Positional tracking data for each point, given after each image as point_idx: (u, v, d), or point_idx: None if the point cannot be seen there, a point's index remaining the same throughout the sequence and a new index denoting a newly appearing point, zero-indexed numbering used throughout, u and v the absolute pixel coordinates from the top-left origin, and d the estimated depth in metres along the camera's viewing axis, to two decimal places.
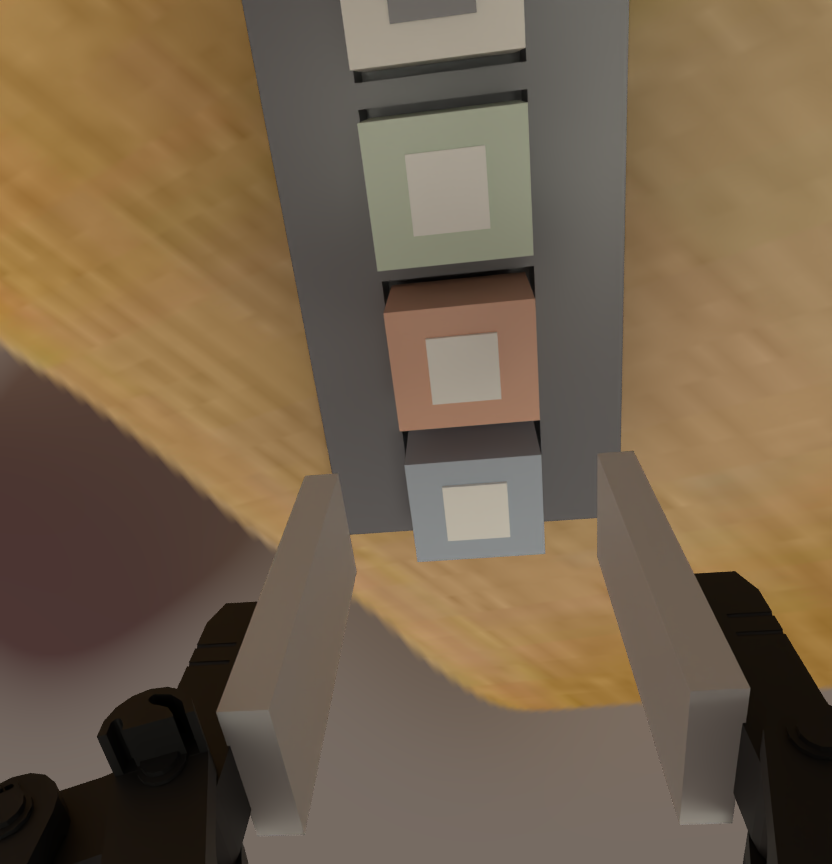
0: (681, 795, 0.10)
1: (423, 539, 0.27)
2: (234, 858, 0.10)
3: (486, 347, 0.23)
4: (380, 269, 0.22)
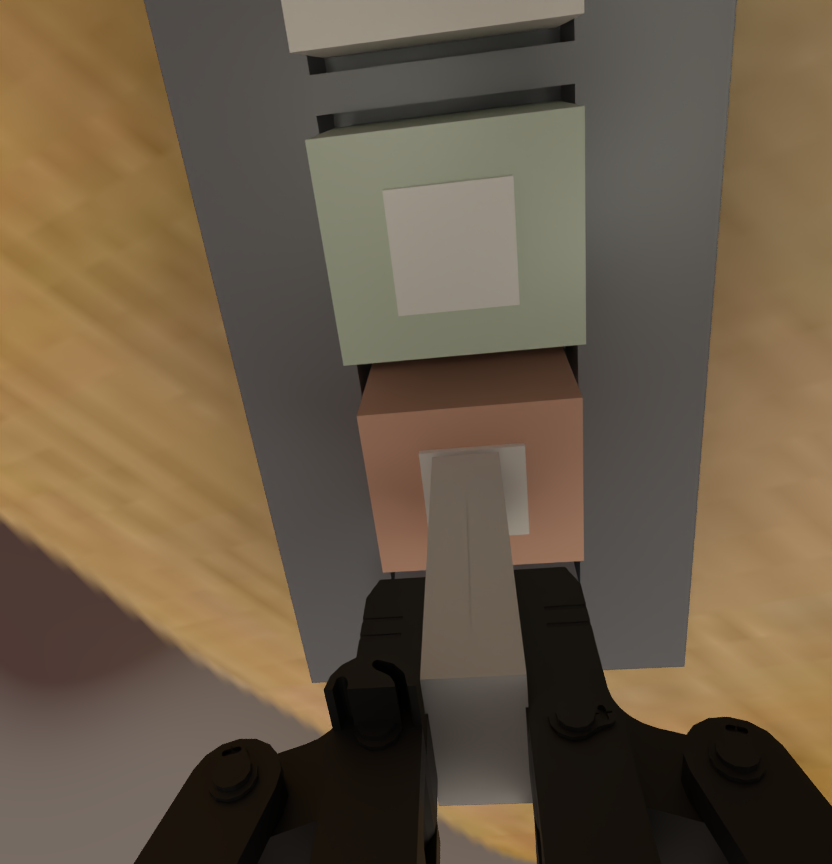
0: (482, 776, 0.11)
1: None
2: (434, 824, 0.10)
3: (509, 464, 0.16)
4: (347, 363, 0.15)
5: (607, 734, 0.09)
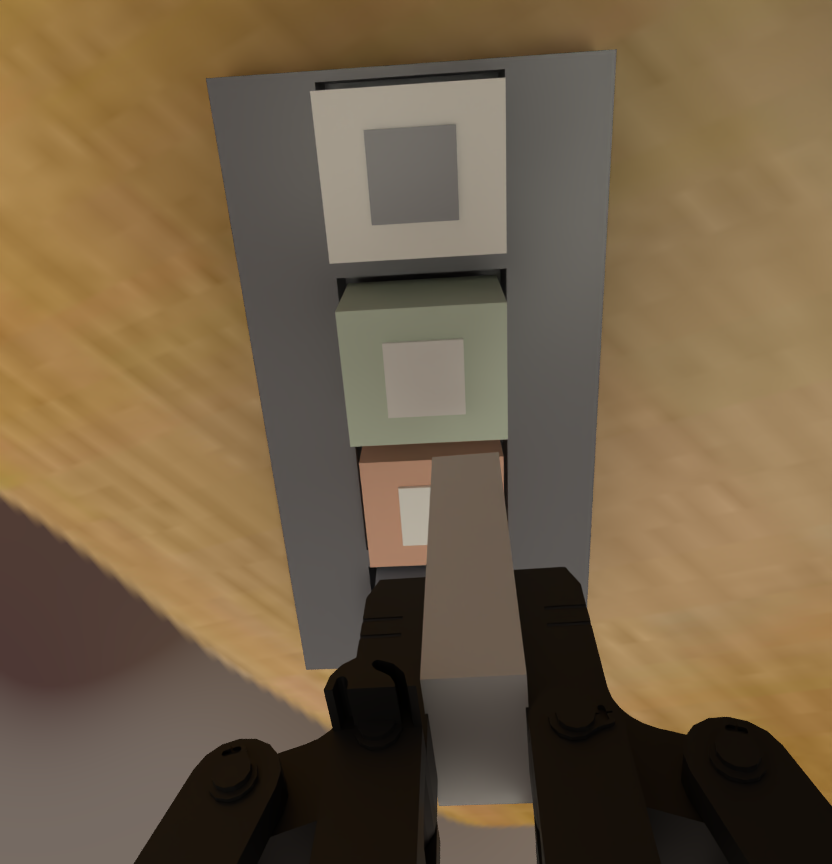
0: (482, 776, 0.11)
1: None
2: (434, 824, 0.10)
3: None
4: (353, 445, 0.22)
5: (607, 734, 0.09)
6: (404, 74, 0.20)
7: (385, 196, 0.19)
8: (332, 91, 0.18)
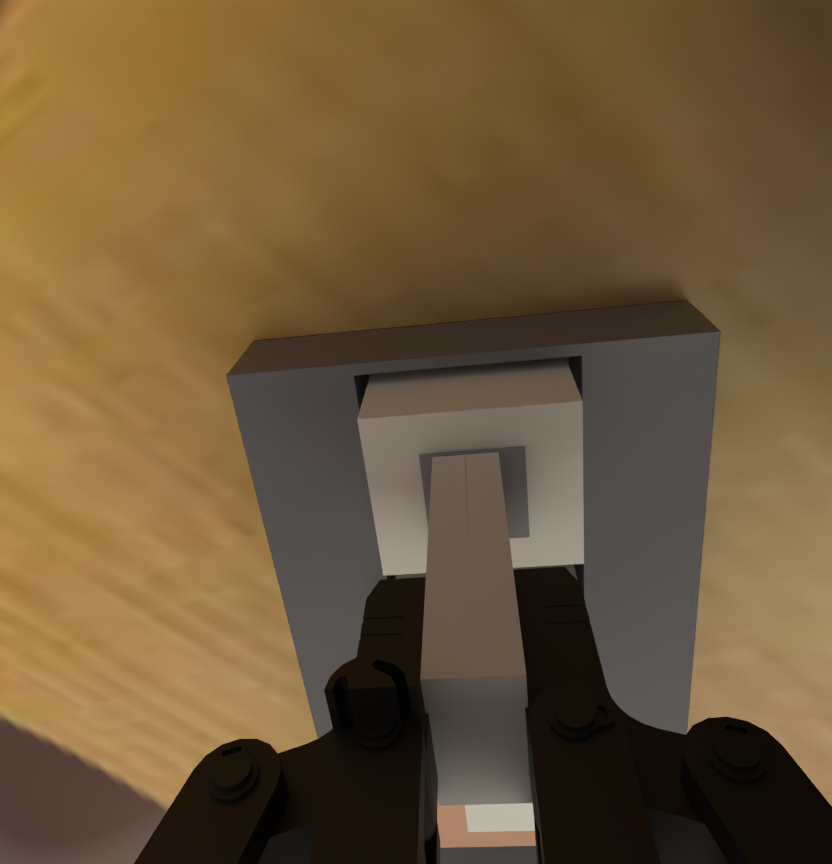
0: (482, 776, 0.11)
1: None
2: (435, 824, 0.10)
3: None
4: None
5: (607, 734, 0.09)
6: (460, 364, 0.17)
7: None
8: (382, 419, 0.16)
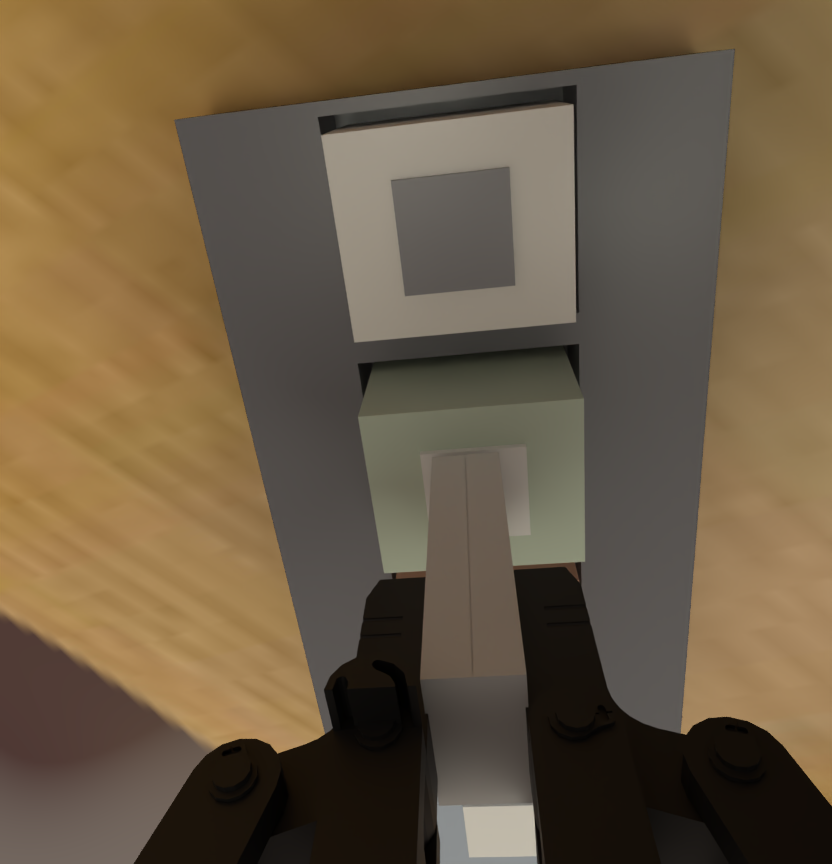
0: (482, 776, 0.11)
1: None
2: (434, 824, 0.10)
3: None
4: (387, 571, 0.18)
5: (607, 734, 0.09)
6: (438, 100, 0.15)
7: (421, 260, 0.15)
8: (349, 134, 0.14)
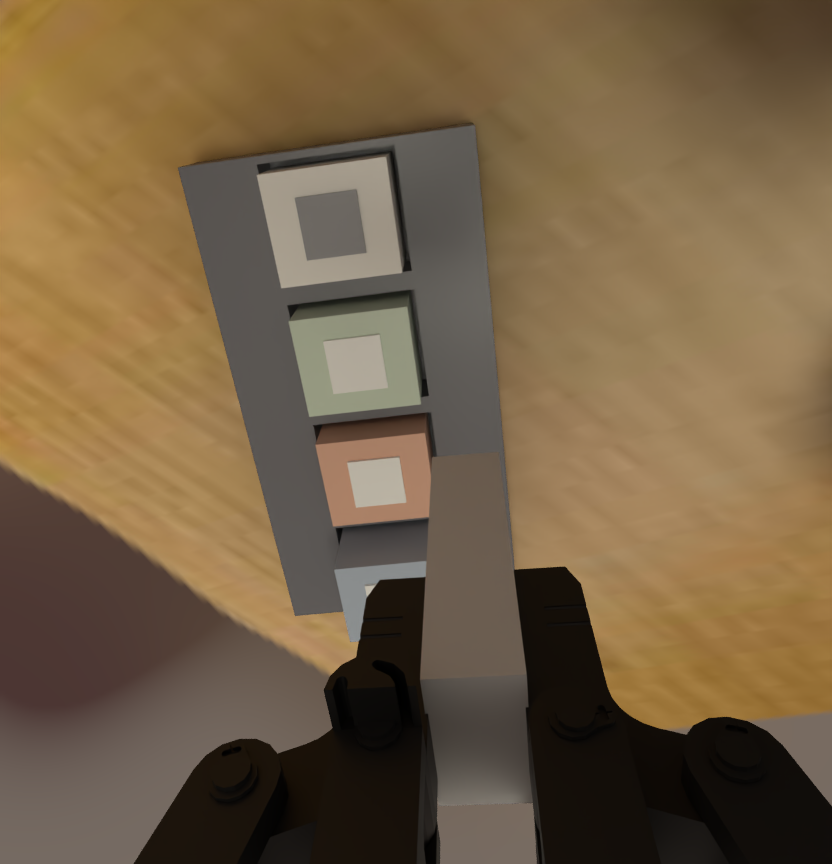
0: (482, 776, 0.11)
1: (353, 624, 0.34)
2: (434, 824, 0.10)
3: (392, 467, 0.32)
4: (311, 415, 0.31)
5: (607, 734, 0.09)
6: (321, 154, 0.28)
7: (314, 240, 0.27)
8: (271, 174, 0.27)
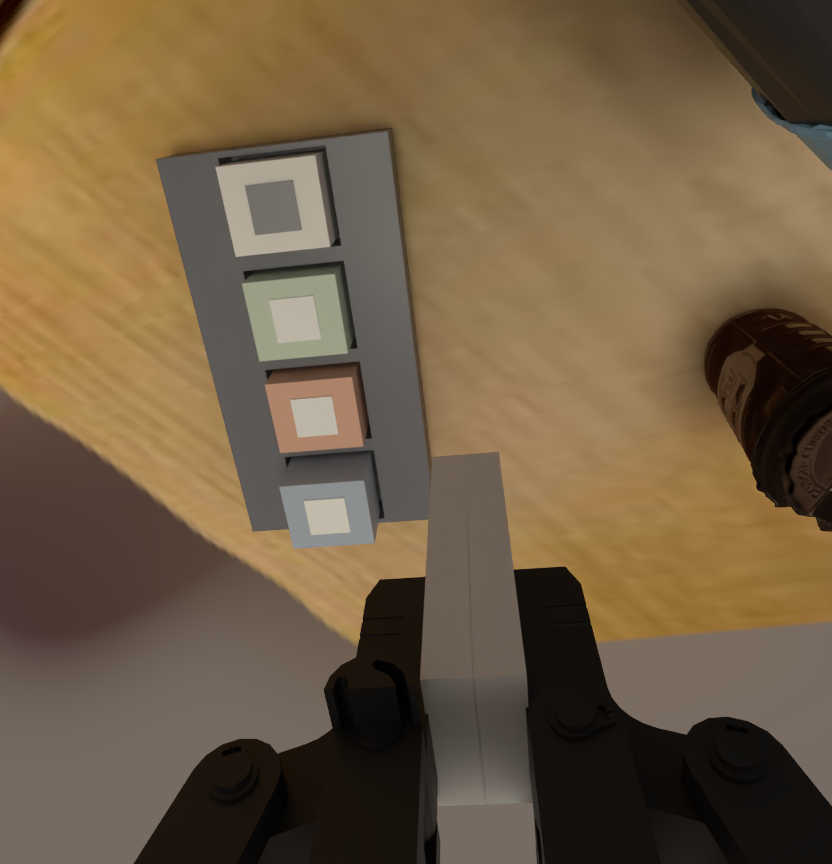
0: (482, 776, 0.11)
1: (295, 533, 0.42)
2: (434, 824, 0.10)
3: (326, 404, 0.39)
4: (261, 360, 0.39)
5: (607, 734, 0.09)
6: (268, 151, 0.35)
7: (260, 219, 0.35)
8: (226, 166, 0.34)
